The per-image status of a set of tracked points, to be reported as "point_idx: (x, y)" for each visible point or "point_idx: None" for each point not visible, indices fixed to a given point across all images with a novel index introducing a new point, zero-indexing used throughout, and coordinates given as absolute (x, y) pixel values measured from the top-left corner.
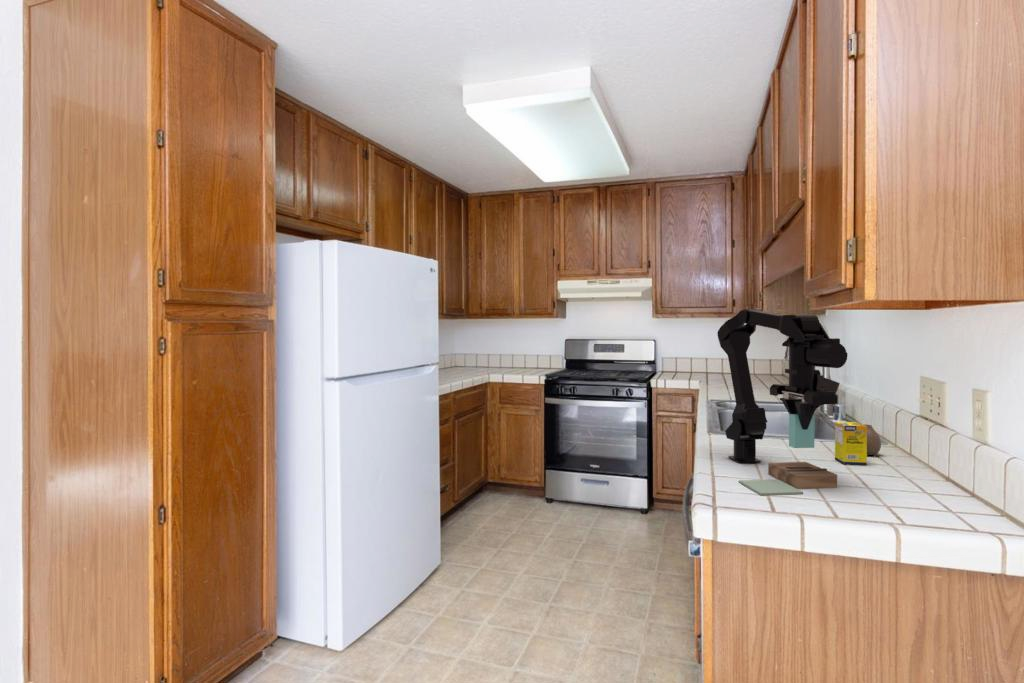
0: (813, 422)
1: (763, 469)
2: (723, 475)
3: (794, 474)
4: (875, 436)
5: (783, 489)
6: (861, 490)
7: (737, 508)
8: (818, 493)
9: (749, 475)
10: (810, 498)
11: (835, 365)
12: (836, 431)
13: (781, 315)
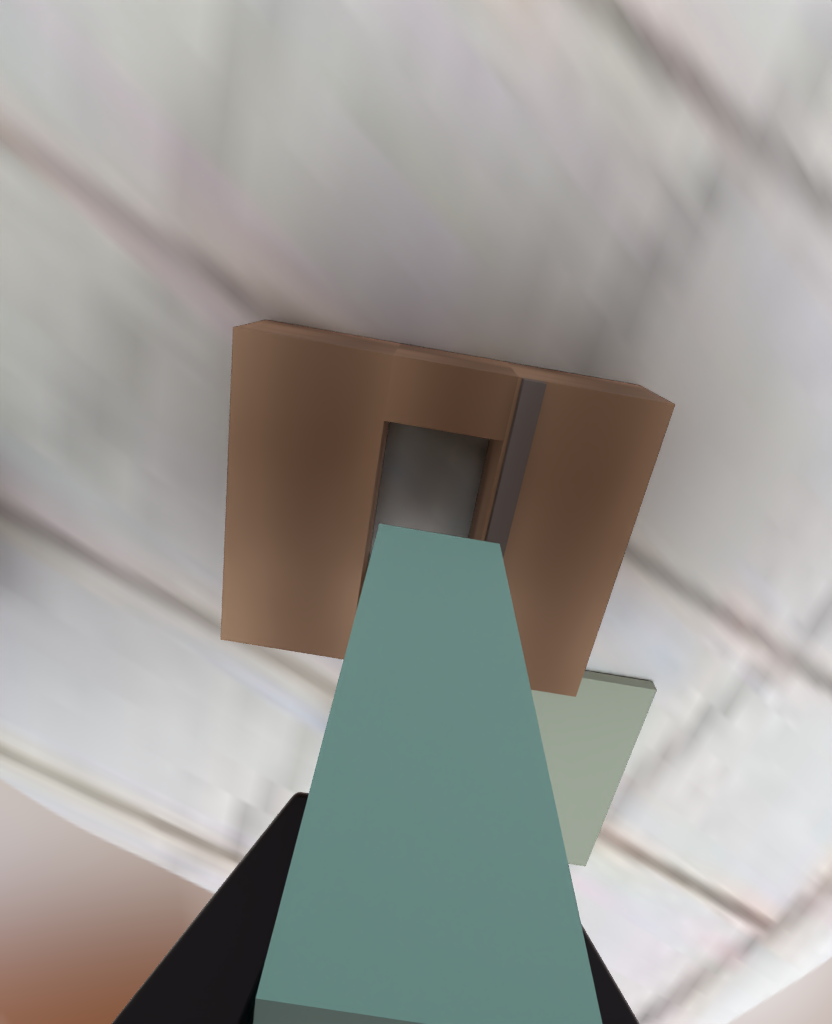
0: (554, 838)
1: (125, 540)
2: (228, 811)
3: (542, 686)
4: None
5: (578, 747)
6: (769, 264)
7: (674, 998)
8: (678, 596)
9: (250, 701)
10: (721, 695)
11: None
12: None
13: None
